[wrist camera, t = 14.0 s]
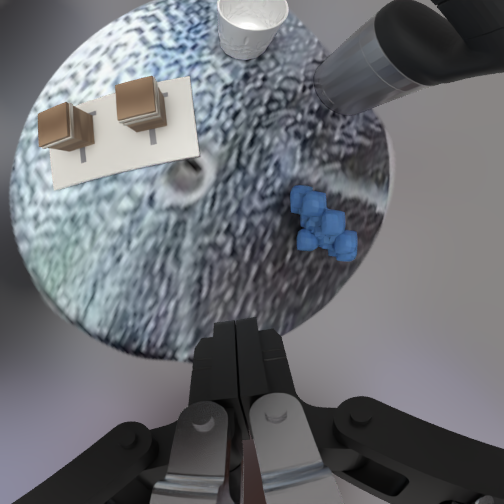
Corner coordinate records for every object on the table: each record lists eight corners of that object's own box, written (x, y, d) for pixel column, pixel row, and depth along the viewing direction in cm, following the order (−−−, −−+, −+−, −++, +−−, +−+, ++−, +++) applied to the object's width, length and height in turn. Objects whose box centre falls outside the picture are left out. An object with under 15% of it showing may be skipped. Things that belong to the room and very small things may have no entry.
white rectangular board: (199, 156, 35) (199, 155, 34) (59, 190, 33) (53, 190, 32) (190, 79, 33) (189, 75, 31) (52, 118, 31) (47, 116, 29)
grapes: (256, 207, 38) (275, 219, 26) (293, 174, 38) (327, 171, 26) (310, 268, 41) (345, 300, 29) (344, 236, 41) (389, 256, 29)
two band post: (168, 126, 32) (156, 111, 25) (136, 133, 32) (116, 121, 24) (164, 96, 31) (153, 74, 24) (133, 103, 31) (114, 84, 23)
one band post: (95, 144, 31) (68, 136, 24) (69, 152, 31) (38, 147, 23) (93, 114, 30) (66, 100, 23) (67, 123, 30) (37, 113, 22)
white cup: (204, 34, 31) (204, -4, 21) (252, 13, 31) (264, -25, 21) (233, 72, 33) (241, 40, 24) (282, 51, 33) (302, 17, 23)
